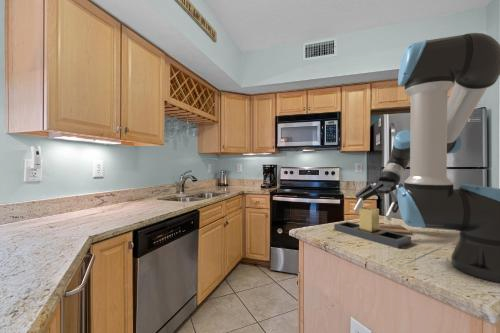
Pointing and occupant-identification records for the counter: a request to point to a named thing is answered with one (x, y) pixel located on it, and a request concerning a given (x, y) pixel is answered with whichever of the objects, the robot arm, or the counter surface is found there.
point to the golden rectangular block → (369, 219)
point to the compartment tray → (374, 235)
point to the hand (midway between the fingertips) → (370, 214)
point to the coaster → (395, 229)
